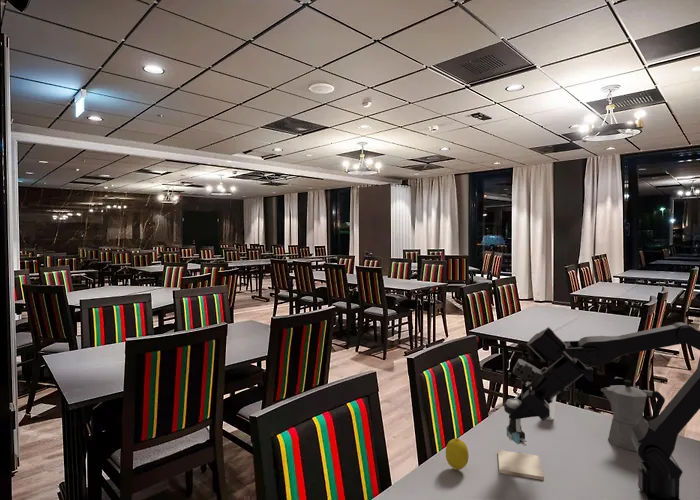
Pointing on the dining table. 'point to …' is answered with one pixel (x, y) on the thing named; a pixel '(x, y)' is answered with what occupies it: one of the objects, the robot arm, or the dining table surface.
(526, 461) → the birch pad
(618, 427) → the coffeepot
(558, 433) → the dining table surface
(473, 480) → the dining table surface
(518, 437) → the push button
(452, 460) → the lemon
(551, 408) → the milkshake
